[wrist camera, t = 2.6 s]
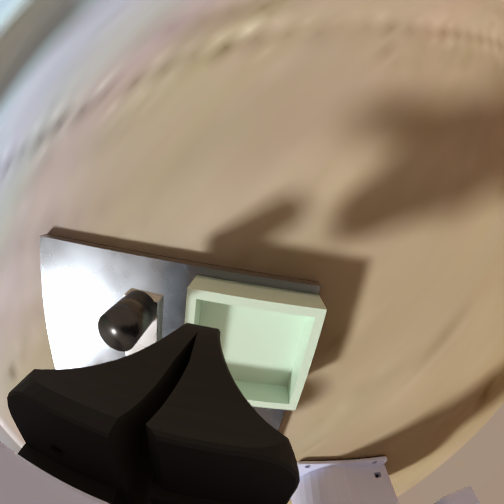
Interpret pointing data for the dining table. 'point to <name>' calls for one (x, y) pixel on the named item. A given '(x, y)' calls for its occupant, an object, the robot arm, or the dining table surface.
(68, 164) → the dining table surface
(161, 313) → the crank
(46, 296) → the base plate
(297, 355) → the tray
